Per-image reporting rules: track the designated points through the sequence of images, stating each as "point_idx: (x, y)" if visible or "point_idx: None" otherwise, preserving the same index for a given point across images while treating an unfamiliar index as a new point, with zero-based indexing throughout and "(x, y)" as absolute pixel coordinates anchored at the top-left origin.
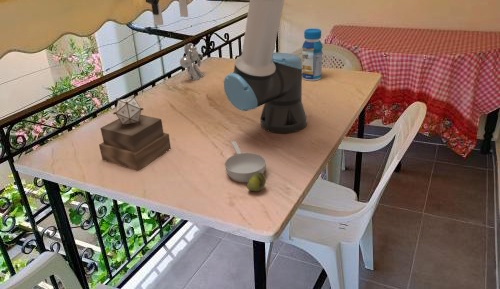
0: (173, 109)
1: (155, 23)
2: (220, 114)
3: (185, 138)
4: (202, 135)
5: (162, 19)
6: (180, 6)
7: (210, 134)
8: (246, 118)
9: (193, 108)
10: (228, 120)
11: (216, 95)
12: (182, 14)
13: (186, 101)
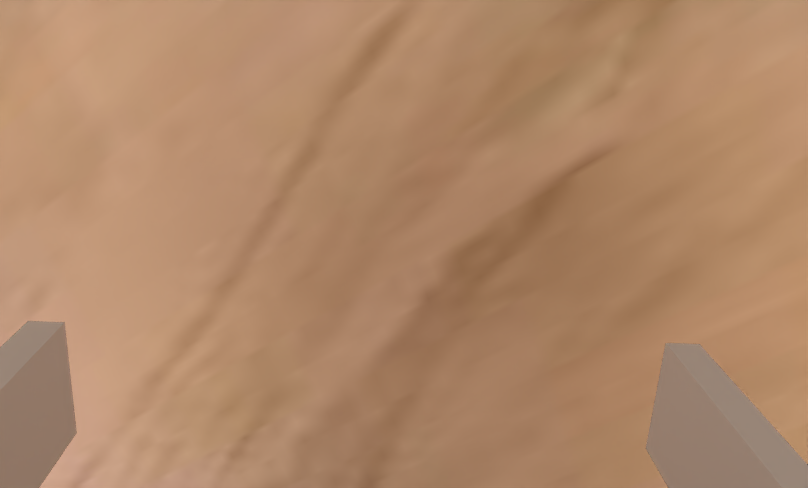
0: (336, 83)
1: (19, 337)
2: (368, 356)
3: (70, 342)
4: (132, 392)
5: (38, 482)
6: (731, 453)
7: (157, 417)
8: (370, 478)
9: (390, 187)
10: (319, 419)
11: (608, 209)
12: (670, 398)
13: (471, 87)
